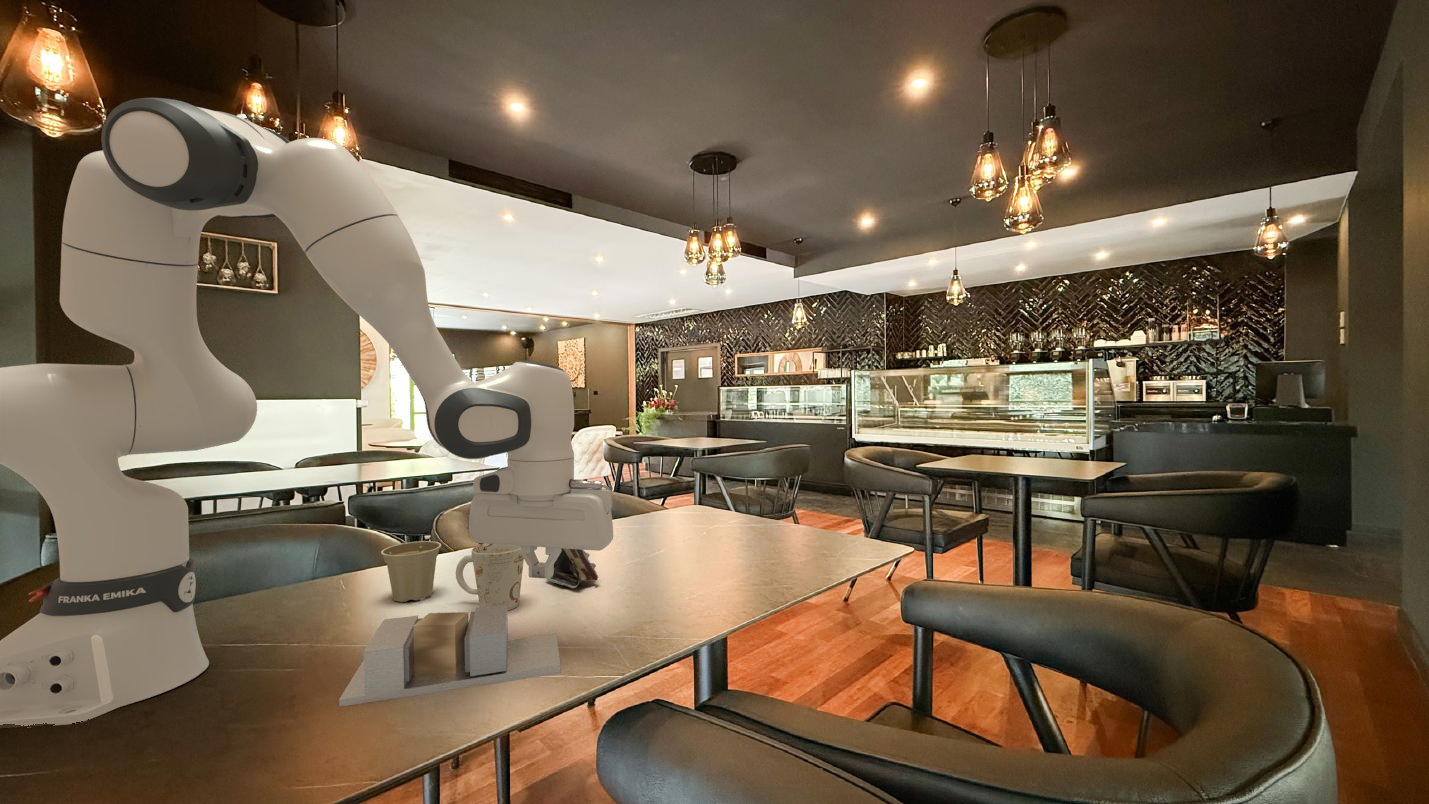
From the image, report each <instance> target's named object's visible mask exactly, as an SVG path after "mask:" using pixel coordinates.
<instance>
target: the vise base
mask: <svg viewBox="0 0 1429 804" xmlns="http://www.w3.org/2000/svg"><path fill="white" fill-rule="evenodd" d="M421 619H422V617H421V618H419V615H410V616H409V615H408V616H402V617H395V618H386V619H383V621H382V622H381V624H380V625H379V627H378V628H377V629H376V632H375V633H374V634H373V636H372V637H371V640H370V641H369V643H368V644H367V646H366V647H365V649H364V650H363V661H362V662H361V663H360V665H359V666H358V668H357V670H356V671H355V673H354V675H353V676H352V678H351V680H350V681H349V683H348V685H347V686H346V688H345V689H344V691H343V692H342V694H341V696H340V697H339V698H338V704H339V705H338V707H345V706H347V707H348V706H354V705H361V704H368V703H374V702H380V701H387V700H393V699H399V698H406V697H412V696H420V695H425V694H426V695H427V694H431V693H440V692H444V691H445V692H446V691H451V690H458V689H465V688H466V689H467V688H472V687H478V686H479V687H480V686H485V685H492V684H498V683H505V682H511V681H519V680H525V679H532V678H537V677H538V678H539V677H545V676H550V675H551V676H553V675H557V674H561V668H562V667H561V665H562V664H561V659H560V652H559V651H560V650H559V645H558V638H557V633H552V634H543V635H538V636H530V637H524V638H517V639H508V646H507V662H506V671H501V672H495V673H489V674H482V675H476V676H470V672H465V664H464V665H463V666H462V667H461V668H460V670H459V671H458V672H457V673H456V674H417V675H414V627H413V625H415V624H416V623H417V622H419V621H420V620H421Z"/></svg>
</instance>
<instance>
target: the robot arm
mask: <svg viewBox="0 0 1429 804" xmlns="http://www.w3.org/2000/svg"><path fill="white" fill-rule="evenodd" d="M101 147H102V150H98V151H97V150H96V151H93V152H90V153H88V154H87V155H85V156H83V158H82V159H81V160H80V161H79V162H78V164H77V166H76V169H75V171H74V174H73V177H72V180H71V184H70V186H69V189H68V194H67V198H66V203H65V208H64V213H63V221H62V232H61V233H62V234H61V248H60V249H61V252H60V257H61V258H60V283H59V304H60V307H61V309H62V311H63V312H64V314H65V316H66V317H67V318H69V320H70V321H72V323H74V324H75V325H77V326H78V327H80V328H81V329H84V330H85V331H86V332H87V331H88V332H89V333H91V334H94V335H96V336H98V337H100V338H103V339H106V340H109V341H111V342H114V343H116V344H119V345H122V346H124V347H126V348H128V349H130V350H131V351H133V354H134V358H133V361H132V363H130V364H122V365H118V364H117V365H115V364H114V365H113V364H111V365H110V364H82V363H81V364H80V363H79V364H78V363H76V364H72V363H31V364H22V365H11V366H4V367H3V366H1V367H0V465H1V466H3V467H6V468H8V469H9V470H10V471H12V472H14V473H16V474H17V475H19V476H21V478H23V479H25V480H26V481H27V482H28V483H29V484H30V485H31V486H33V487H34V488H35V489H36V491H37V492H38V493H39V494H40V495H41V496H42V497H43V499H44V500H45V502H46V504H47V506H48V508H49V510H50V512H51V514H52V517H53V521H54V527H55V533H56V538H57V546H58V547H57V548H58V558H59V577H58V578H55V579H54V580H52V581H50V582H48V583H46V584H44V585H42V587H41V588H38V589H35V590H33V591H31V592H28V595H34V594H36V595H34V596H32V597H31V598H30V599H28V602H30V603H32V602H35V601H38V600H41V599H42V602H43V603H42V605H41V607H40V609H39V613H38V614H37V615H34V617H32V618H31V619H30V620H29V619H28V621H26V622H25V623H24V624H22V625H21V626H19V627H18V628H16V629H15V630H13V631H12V632H10V633H9V634H8V635H6V636H5V637H3V638H1V640H0V725H3V724H15V725H21V726H23V725H24V726H28V725H29V726H30V725H33V724H34V725H35V724H43V723H44V724H45V723H47V724H55V725H54V726H62V725H63V726H64V725H73V724H72V723H75V724H77V723H76V722H80V723H82V722H81V721H83V722H87V721H89V720H91V719H94V718H96V717H99V716H102V715H104V714H107V713H108V712H111V711H114V710H116V709H118V708H120V707H123V706H127V705H130V704H134V703H136V702H140V701H143V700H146V699H149V698H151V697H152V698H153V697H154V696H157V695H160V694H162V693H165V692H168V691H170V690H172V689H175V688H177V687H179V686H182V685H184V684H186V683H187V682H190V681H191V680H193V679H195V678H196V677H198V676H199V675H200V674H202V673H203V672H204V671H206V670H207V668H208V667H209V665H210V660H209V658H208V656H207V655H206V652H205V650H204V648H203V643H202V641H201V638H200V634H199V632H198V627H197V622H196V617H195V612H194V611H195V610H194V605H193V603H194V602H195V600H196V599H195V597H196V589H197V587H196V586H197V584H196V583H197V582H196V581H197V580H196V576H195V575H196V574H195V563H194V562H195V560H194V559H193V558H192V557H190V542H189V541H190V535H189V534H190V532H189V531H190V530H189V529H190V528H189V526H190V525H189V506H188V504H187V502H186V500H185V499H184V497H183V496H182V495H180V493H178V492H176V491H175V490H173V489H170V488H168V487H165V486H163V485H158V484H156V483H152V482H148V481H145V480H140V479H137V478H132V477H129V476H127V475H125V474H124V473H123V472H122V470H121V467H120V465H119V458H122V457H126V456H132V455H143V454H144V455H145V454H146V455H147V454H161V453H175V452H177V453H179V452H189V451H190V452H191V451H199V450H205V449H208V448H209V449H210V448H215V447H219V446H222V445H223V446H224V445H228V444H233V443H237V442H239V441H240V440H241V439H243V438H244V437H245V436H246V435H247V434H248V433H249V431H250V430H251V429H252V427H253V425H254V424H255V421H256V418H257V415H258V414H257V413H258V403H257V398H256V396H255V393H254V391H253V389H252V388H251V386H250V385H249V383H248V382H247V381H246V380H245V379H244V378H242V377H241V376H239V374H238V373H235V372H233V371H232V370H230V369H229V368H227V367H226V366H225V365H224V364H223V363H221V362H220V360H218V359H217V358H216V357H215V355H214V354H213V353H212V352H211V350H210V349H209V348H208V346H207V345H206V343H205V341H204V338H203V337H202V334H201V331H200V327H199V322H198V312H197V309H198V308H197V285H198V284H197V283H198V274H199V273H198V270H199V258H200V254H199V253H200V240H201V236H202V235H201V234H202V231H203V230H204V229H203V228H204V227H205V225H206V223H207V222H209V220H211V219H212V218H215V217H217V216H223V217H229V218H232V219H240V218H241V219H246V218H249V219H250V218H256V219H257V218H259V219H260V218H261V219H263V218H265V219H266V218H275V217H277V218H278V219H279V220H280V221H281V222H282V223H283V224H284V225H285V226H286V227H287V228H288V230H289V231H290V233H291V235H292V236H293V237H294V239H295V240H296V242H297V244H298V245H299V246H300V247H301V250H302V252H304V254H305V256H306V257H307V259H308V261H310V262H311V264H312V266H313V267H314V268H315V269H316V271H317V272H318V274H319V275H320V276H321V277H322V279H323V280H324V281H325V282H326V284H327V285H328V286H329V287H330V288H331V289H332V290H333V291H334V293H336V294H337V295H338V297H339V298H340V299H342V301H344V302H345V304H347V306H349V308H351V310H353V311H354V312H355V313H356V314H357V315H358V316H360V318H362V319H364V321H365V322H367V323H368V324H369V325H370V326H371V327H372V328H373V329H374V330H375V331H376V332H377V333H378V334H379V335H380V336H381V337H382V338H383V339H384V340H385V342H386V343H387V344H388V345H389V346H390V347H391V349H392V351H393V352H394V353H395V355H396V357H397V358H398V360H399V361H400V363H401V365H402V366H403V367H404V370H405V371H406V373H407V374H408V376H409V377H410V378H411V380H412V381H413V383H414V384H415V387H416V388H417V389H418V391H419V393H420V395H421V397H422V399H423V402H424V405H425V406H424V407H425V414H426V415H425V416H426V424H427V428H428V432H429V433H430V435H431V437H432V438H433V440H434V441H435V442H436V444H438V445H439V446H440V447H442V448H443V449H445V450H446V451H448V452H449V453H450V454H452V455H453V456H456V457H457V458H462V459H464V460H480V459H481V460H482V459H486V458H489V457H491V456H496V455H502V454H505V453H507V466H505V467H500V468H497V469H496V470H494V471H491V472H488V473H484V474H482V475H479V476H476V477H474V479H473V480H472V481H473V482H472V485H473V486H472V488H473V490H474V492H476V494H474V496H473V497H472V500H471V502H470V507H469V517H468V522H469V523H468V533H469V536H470V538H471V539H472V541H473V543H475V544H485V543H486V544H502V545H517V546H521V555H522V556H523V558H524V562H525V563H526V565H527V566H528V578H531V579H532V578H535V579H537V578H538V579H542V580H543V579H545V580H547V579H550V578H551V577H552V576H553V574H554V563H555V562H556V560H557V558H558V556H559V555H560V553H561V549H562V548H564V549H580V550H584V551H598V552H600V551H602V550H604V549H605V548H606V547H608V546H610V544H611V543H612V541H614V525H613V524H614V523H613V517H612V510H613V509H612V508H613V505H614V504H613V502H614V501H613V500H614V499H613V491H612V490H611V488H610V487H609V486H608V485H606V484H604V483H603V481H601V480H583V479H575V453H574V449H573V445H572V436H573V431H574V428H575V405H574V404H575V403H574V393H573V384H572V382H571V377H570V376H569V374H568V373H567V372H566V371H565V370H564V369H563V368H561V367H559V366H556V365H553V364H549V363H544V362H541V361H540V362H538V361H531V360H518V361H515V362H514V363H513V364H512V365H510V366H509V367H508V368H506V369H504V370H502V371H500V372H498V373H496V374H494V375H492V376H489V377H487V378H484V379H481V380H479V381H476V382H474V381H472V380H471V379H470V378H469V377H468V376H467V375H466V373H465V372H464V371H463V369H462V368H461V366H460V364H459V362H458V361H457V359H456V358H455V356H454V355H453V353H452V352H451V350H450V348H449V346H448V344H447V342H446V341H445V340H444V338H443V336H442V334H441V332H439V329H438V328H437V326H436V322H435V321H434V319H433V316H432V313H431V310H430V306H429V300H428V293H427V282H426V281H427V279H426V272H425V269H424V266H423V263H422V260H421V256H420V255H419V253H418V250H417V247H416V245H415V244H414V240H413V239H412V237H411V235H410V232H408V229H407V227H406V226H405V224H404V223H403V221H402V219H401V217H400V215H398V213H397V211H396V210H395V208H394V206H393V205H392V204H391V202H390V201H389V199H388V198H387V196H386V195H385V194H384V191H382V189H381V188H380V186H379V185H378V184H377V183H376V181H375V180H374V179H373V177H372V176H371V174H369V173H368V172H367V170H366V169H365V168H364V166H363V165H362V164H361V163H360V162H359V161H358V160H357V158H356V157H355V156H354V155H353V154H352V153H351V152H350V151H349V150H348V149H347V148H345V147H344V146H343V145H341V144H340V143H338V142H335V141H333V140H330V139H325V138H322V137H321V138H319V137H305V138H299V139H295V140H292V141H290V140H289V139H287V138H286V137H284V136H283V135H281V134H280V133H278V132H276V131H274V130H272V129H269V128H267V127H264V126H263V127H262V126H260V125H258V124H256V123H253V122H252V121H250V120H247V119H245V118H242V117H240V116H237V115H234V114H232V113H228V112H224V111H220V110H219V111H218V110H212V109H208V108H204V107H199V106H196V105H192V104H190V103H188V102H185V101H182V100H177V99H173V98H172V99H171V98H164V97H163V98H161V97H141V98H133V99H130V100H127V101H124V102H122V103H120V104H119V105H117V106H116V107H114V108H113V109H112V110H111V111H110V112H109V114H108V115H107V117H106V118H105V120H104V122H103V126H102V129H101ZM538 548H545V550H544V551H545V555H547V559H546V561H545V562H541V561H539V558H538V557H537V555H536V552H535V551H536V550H537V549H538ZM88 719H89V720H88Z"/></svg>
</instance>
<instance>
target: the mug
mask: <svg viewBox="0 0 1429 804" xmlns="http://www.w3.org/2000/svg"><path fill="white" fill-rule="evenodd" d="M524 562H525V560H524V558H523V556H522V555H521V546H517V545H502V544H486V543H480V544H478V545H476V546H474V547H472V549H471V554H468V555H464V556H463V557H462V558H461V559H460V560H459V562H458V563H457V565H456V569H455V578H456V579H455V580H456V581H457V583H458V585H459V587H460V588H461V589H462V590H463V591H465V592H466V593H467V594H470V595H472V596H473V595H474V596H478V602H479V604H478V605H479V608H483V607H491V606H499V605H507V612H508V611H511V610H514V609H516V608H517V607H518V606H519V604H520V598H521V589H522V579H523V570H524ZM470 563H472V564H473V565H472V566H473V571H474V578H475V583H476V588H472V587H470V585H468V584H467V582H466V581H465V578H464V575H463V574H464V573H463V572H464V569H465V567H466V566H467V564H470Z"/></svg>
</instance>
